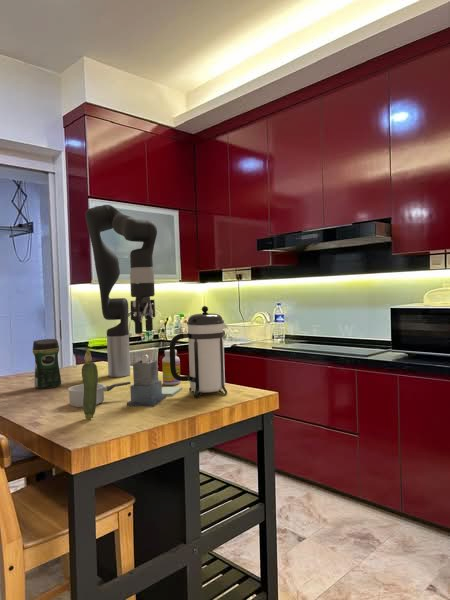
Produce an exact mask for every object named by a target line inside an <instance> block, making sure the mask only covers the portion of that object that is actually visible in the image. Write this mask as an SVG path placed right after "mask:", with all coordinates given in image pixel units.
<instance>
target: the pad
mask: <svg viewBox="0 0 450 600" xmlns="http://www.w3.org/2000/svg"><path fill="white" fill-rule="evenodd" d="M182 390H183V387H182V386H162V395H166V397H175V395H176V394H178V393H179V392H180V391H182Z"/></svg>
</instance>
